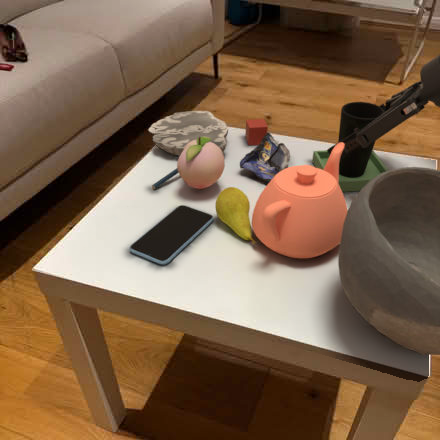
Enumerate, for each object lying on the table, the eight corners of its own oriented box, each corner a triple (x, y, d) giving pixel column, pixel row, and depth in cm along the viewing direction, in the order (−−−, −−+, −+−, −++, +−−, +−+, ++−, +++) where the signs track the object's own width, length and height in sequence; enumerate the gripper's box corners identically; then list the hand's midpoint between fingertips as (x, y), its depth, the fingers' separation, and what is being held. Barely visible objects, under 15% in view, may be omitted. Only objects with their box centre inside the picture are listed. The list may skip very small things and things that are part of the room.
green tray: (368, 158, 97) (371, 147, 95) (391, 189, 88) (394, 178, 86) (311, 161, 96) (313, 150, 94) (329, 192, 87) (331, 181, 85)
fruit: (211, 204, 82) (233, 263, 77) (209, 186, 76) (232, 248, 72) (242, 194, 82) (266, 252, 78) (242, 175, 76) (267, 237, 72)
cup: (367, 183, 88) (383, 121, 79) (327, 177, 89) (339, 115, 81) (371, 164, 93) (386, 104, 85) (333, 158, 95) (344, 99, 86)
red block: (262, 136, 104) (264, 118, 101) (266, 144, 101) (267, 126, 98) (245, 137, 103) (246, 119, 101) (248, 145, 100) (249, 127, 98)
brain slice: (144, 128, 106) (142, 115, 104) (216, 121, 109) (216, 108, 107) (158, 170, 92) (157, 156, 90) (239, 160, 96) (240, 146, 94)
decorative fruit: (218, 203, 84) (218, 152, 77) (174, 198, 85) (171, 147, 78) (228, 177, 90) (229, 128, 83) (187, 173, 91) (185, 123, 84)
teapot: (295, 191, 87) (304, 127, 78) (370, 220, 80) (388, 154, 72) (223, 248, 74) (224, 180, 66) (304, 288, 68) (317, 218, 59)
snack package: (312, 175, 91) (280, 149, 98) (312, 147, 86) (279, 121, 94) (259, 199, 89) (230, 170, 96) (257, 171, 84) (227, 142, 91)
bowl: (442, 425, 53) (536, 356, 42) (277, 297, 61) (319, 209, 49) (502, 314, 68) (584, 241, 56) (363, 221, 75) (411, 140, 64)
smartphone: (215, 215, 80) (164, 263, 70) (215, 219, 80) (164, 267, 71) (180, 202, 82) (126, 247, 73) (180, 206, 83) (127, 251, 74)
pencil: (151, 184, 87) (208, 145, 92) (153, 189, 88) (209, 149, 93) (153, 185, 86) (211, 145, 92) (155, 190, 87) (212, 150, 92)
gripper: (449, 122, 65) (331, 186, 81) (481, 71, 81) (376, 133, 97) (422, 76, 64) (307, 150, 80) (460, 32, 79) (357, 102, 95)
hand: (345, 141), depth 88 cm, fingers open, 13 cm apart
